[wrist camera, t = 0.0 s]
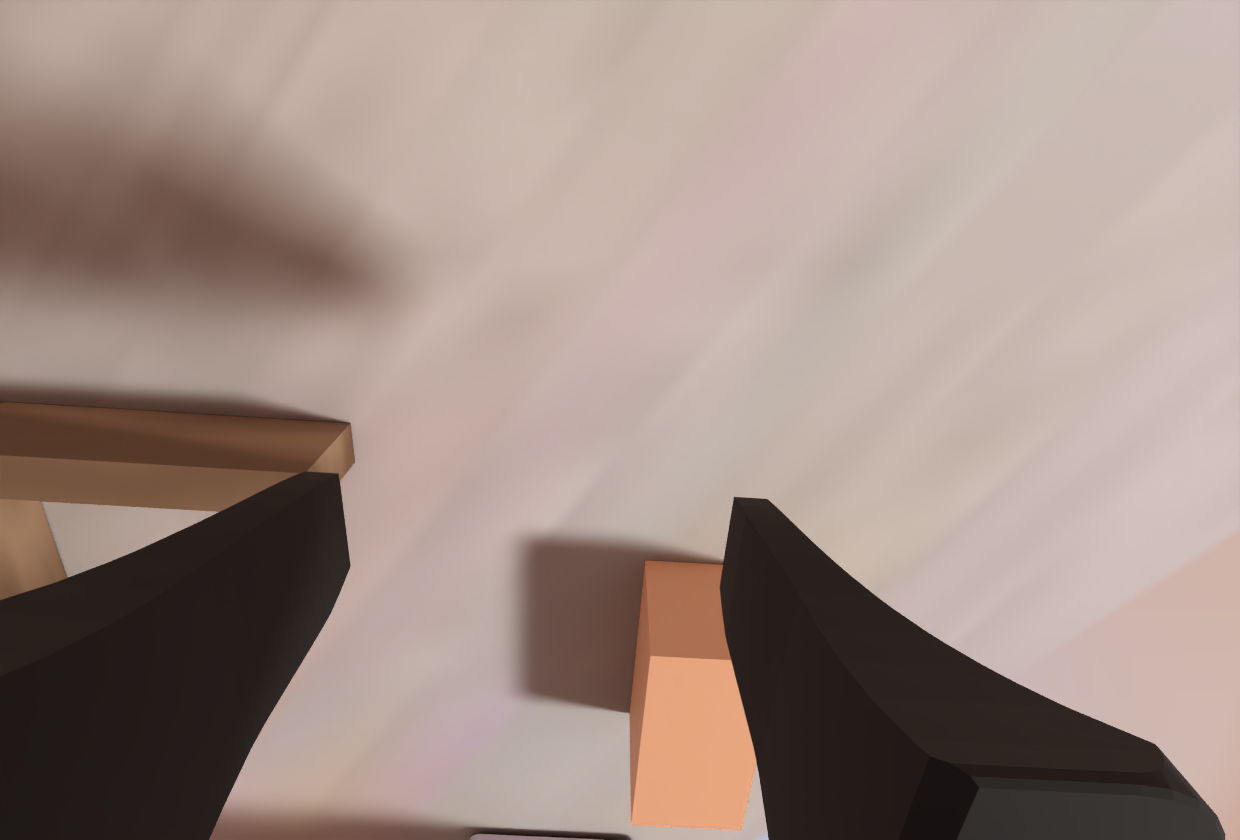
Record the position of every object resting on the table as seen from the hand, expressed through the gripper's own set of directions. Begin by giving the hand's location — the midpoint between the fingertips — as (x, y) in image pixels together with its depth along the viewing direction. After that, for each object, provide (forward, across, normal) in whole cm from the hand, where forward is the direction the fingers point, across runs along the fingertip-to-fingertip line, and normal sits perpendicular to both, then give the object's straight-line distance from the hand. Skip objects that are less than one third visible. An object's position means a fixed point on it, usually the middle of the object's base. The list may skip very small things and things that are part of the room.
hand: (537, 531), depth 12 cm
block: (+10, -5, +12) cm, 17 cm away
